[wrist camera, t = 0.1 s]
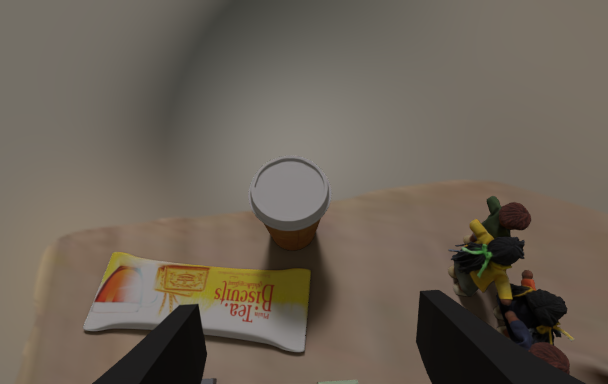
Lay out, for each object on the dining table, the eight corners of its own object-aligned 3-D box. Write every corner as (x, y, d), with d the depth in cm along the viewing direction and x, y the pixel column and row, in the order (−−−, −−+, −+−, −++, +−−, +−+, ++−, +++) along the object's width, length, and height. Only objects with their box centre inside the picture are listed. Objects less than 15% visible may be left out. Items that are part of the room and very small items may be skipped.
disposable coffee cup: (270, 195, 50) (261, 145, 39) (332, 207, 49) (339, 160, 38) (251, 253, 45) (234, 215, 35) (318, 269, 44) (322, 234, 34)
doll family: (562, 409, 36) (683, 421, 24) (484, 425, 35) (570, 446, 24) (474, 220, 47) (528, 168, 36) (414, 229, 47) (449, 180, 35)
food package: (311, 266, 42) (304, 352, 37) (311, 271, 44) (304, 353, 39) (108, 248, 44) (75, 328, 39) (116, 254, 46) (87, 331, 41)
